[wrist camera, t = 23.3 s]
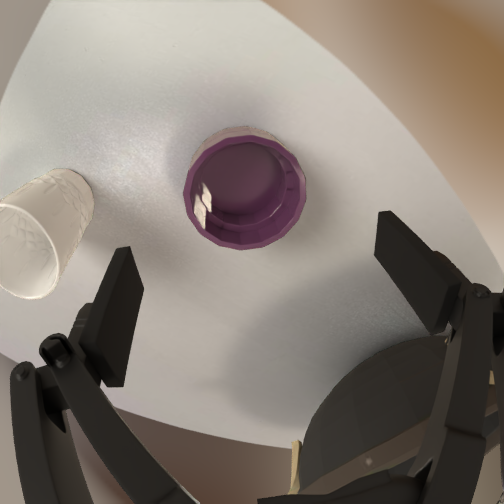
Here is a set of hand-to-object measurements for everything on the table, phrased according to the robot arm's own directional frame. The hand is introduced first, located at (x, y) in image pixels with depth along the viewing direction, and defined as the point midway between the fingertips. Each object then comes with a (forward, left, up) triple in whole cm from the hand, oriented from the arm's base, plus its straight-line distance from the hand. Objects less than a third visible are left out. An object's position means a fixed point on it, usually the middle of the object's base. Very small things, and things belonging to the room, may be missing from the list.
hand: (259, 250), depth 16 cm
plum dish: (0, 0, -13) cm, 13 cm away
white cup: (-1, -17, -13) cm, 22 cm away
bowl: (+33, +19, -13) cm, 40 cm away
